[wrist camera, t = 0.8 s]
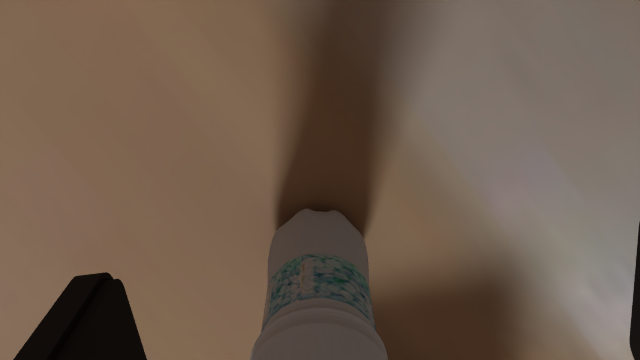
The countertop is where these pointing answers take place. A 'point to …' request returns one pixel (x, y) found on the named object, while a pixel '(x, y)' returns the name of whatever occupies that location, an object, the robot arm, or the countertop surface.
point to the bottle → (318, 293)
